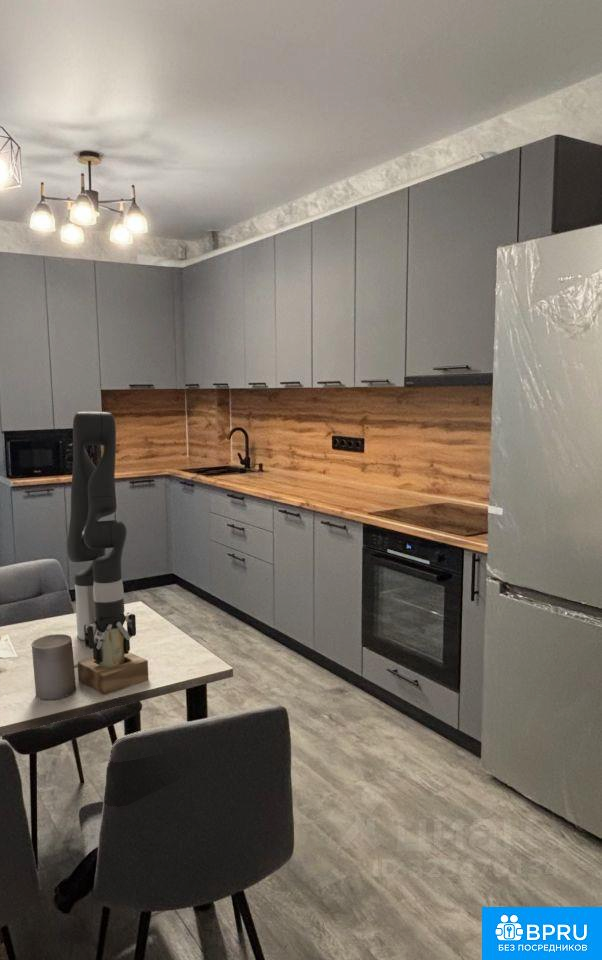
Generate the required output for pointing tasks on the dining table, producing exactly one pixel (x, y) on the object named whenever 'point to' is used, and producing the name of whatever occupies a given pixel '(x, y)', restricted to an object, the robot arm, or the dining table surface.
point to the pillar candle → (53, 666)
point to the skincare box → (112, 649)
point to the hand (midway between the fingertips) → (112, 657)
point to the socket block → (113, 674)
